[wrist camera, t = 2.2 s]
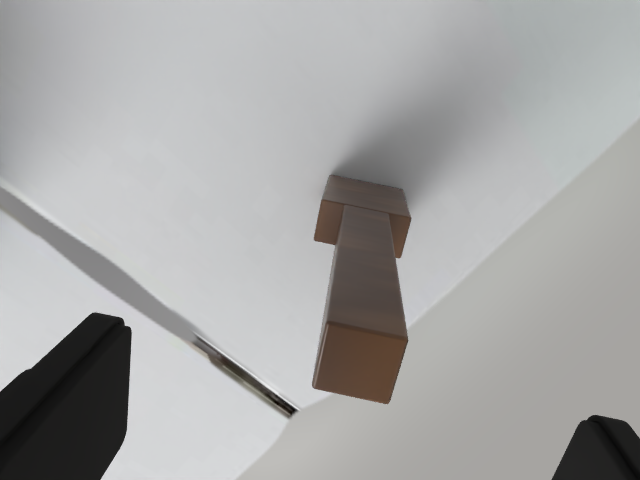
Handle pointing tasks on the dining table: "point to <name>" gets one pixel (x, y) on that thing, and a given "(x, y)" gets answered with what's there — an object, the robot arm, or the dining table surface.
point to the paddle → (362, 289)
